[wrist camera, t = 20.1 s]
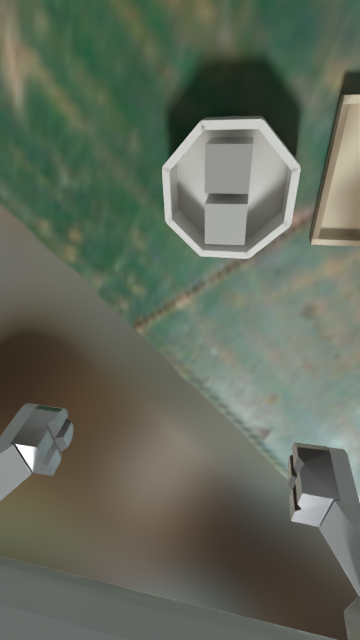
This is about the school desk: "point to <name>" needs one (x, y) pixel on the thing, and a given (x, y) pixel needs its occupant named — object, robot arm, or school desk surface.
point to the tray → (340, 181)
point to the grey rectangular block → (228, 165)
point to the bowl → (264, 188)
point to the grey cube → (226, 218)
